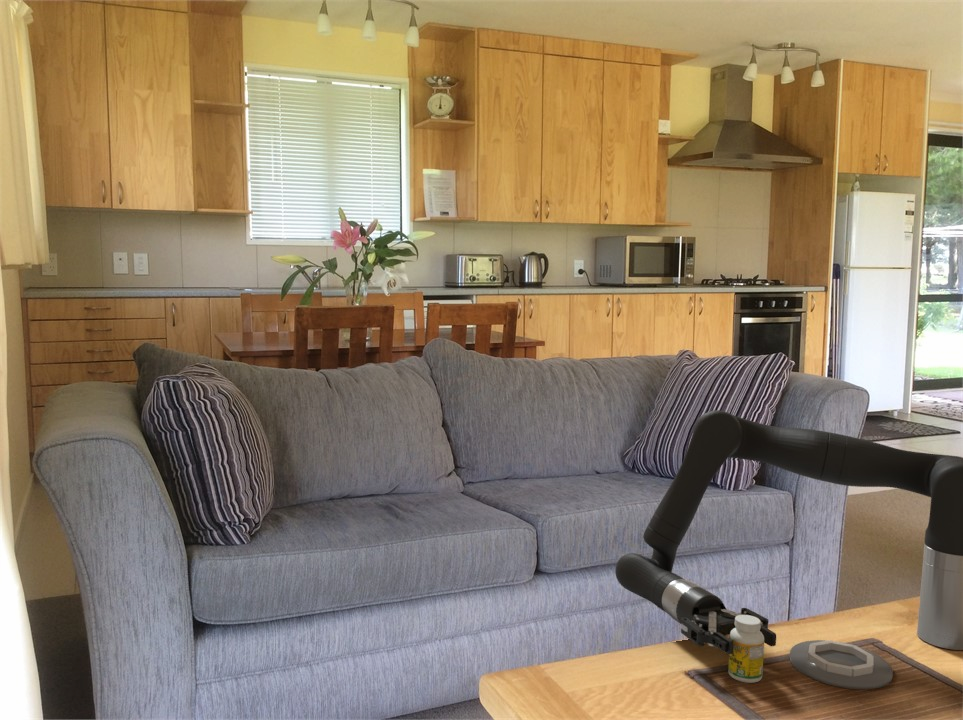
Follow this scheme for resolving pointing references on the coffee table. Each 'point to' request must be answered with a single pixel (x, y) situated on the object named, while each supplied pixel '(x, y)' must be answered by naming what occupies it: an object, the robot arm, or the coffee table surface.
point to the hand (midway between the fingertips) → (753, 644)
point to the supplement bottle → (746, 650)
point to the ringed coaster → (841, 664)
